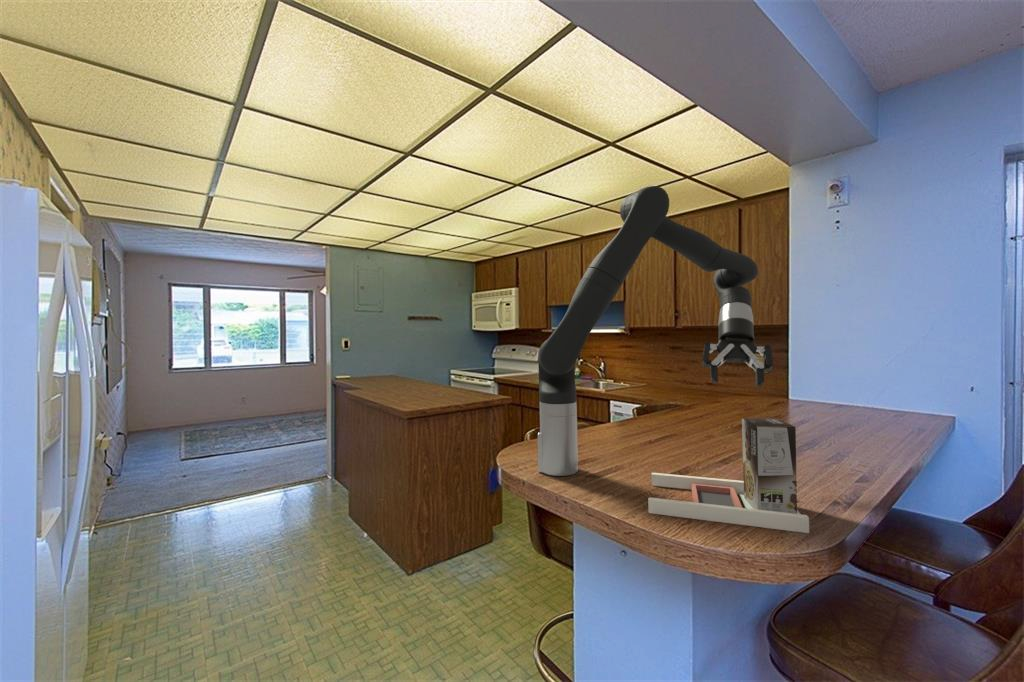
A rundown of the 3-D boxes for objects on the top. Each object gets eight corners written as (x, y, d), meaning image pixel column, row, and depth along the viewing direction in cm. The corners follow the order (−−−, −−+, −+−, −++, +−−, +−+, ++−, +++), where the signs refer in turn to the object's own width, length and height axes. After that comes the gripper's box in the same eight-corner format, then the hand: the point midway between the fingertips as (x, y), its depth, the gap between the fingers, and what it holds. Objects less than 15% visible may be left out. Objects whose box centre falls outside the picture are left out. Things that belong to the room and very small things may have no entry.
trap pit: (695, 515, 74) (694, 506, 74) (691, 490, 87) (691, 483, 87) (744, 521, 72) (744, 512, 72) (733, 494, 84) (733, 487, 84)
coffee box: (799, 519, 71) (797, 426, 71) (758, 516, 73) (756, 425, 73) (779, 499, 80) (777, 417, 80) (742, 497, 81) (740, 416, 81)
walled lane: (648, 513, 76) (648, 499, 76) (652, 483, 91) (651, 472, 91) (809, 533, 67) (808, 518, 67) (783, 496, 82) (782, 484, 82)
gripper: (704, 315, 100) (703, 373, 92) (772, 317, 94) (777, 379, 86) (702, 332, 106) (700, 388, 98) (766, 335, 100) (769, 394, 92)
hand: (736, 384), depth 92 cm, fingers open, 8 cm apart
